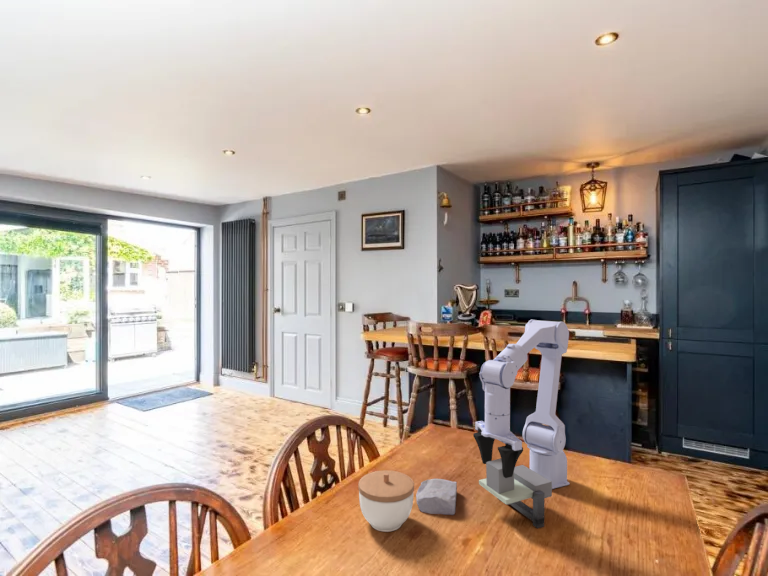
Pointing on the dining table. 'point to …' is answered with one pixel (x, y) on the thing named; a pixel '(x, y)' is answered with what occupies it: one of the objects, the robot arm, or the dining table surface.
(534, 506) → the frame
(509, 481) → the grey rectangular block
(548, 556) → the dining table surface
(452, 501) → the stone block
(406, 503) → the lidded bowl
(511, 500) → the trapdoor
